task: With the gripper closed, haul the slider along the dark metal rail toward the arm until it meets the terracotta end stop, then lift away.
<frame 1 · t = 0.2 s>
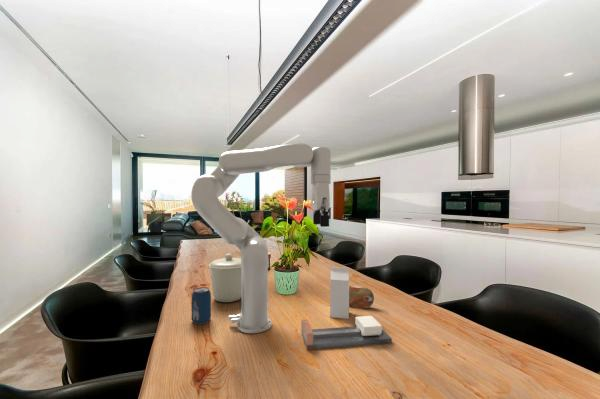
hand: (320, 225, 105), 37 cm above the table, tool pointing down, fingers open, 9 cm apart
rail: (345, 338, 93), on the table
canister: (228, 299, 130), on the table
soda can: (201, 321, 106), on the table
slider: (368, 326, 94), point 4 cm above the table, slide at 0.0 cm
tin: (356, 306, 122), on the table
milk carton: (339, 315, 112), on the table
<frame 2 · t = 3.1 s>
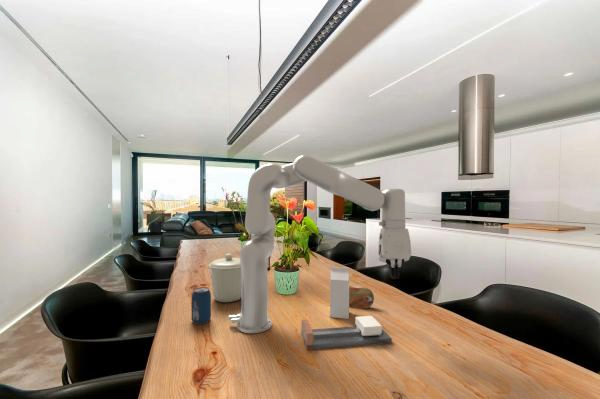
hand: (394, 278, 95), 20 cm above the table, tool pointing down, fingers closed
nothing on the table moved.
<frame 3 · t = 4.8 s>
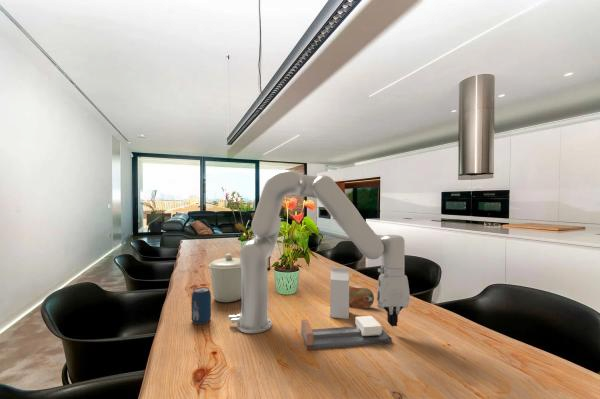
hand: (392, 324, 95), 4 cm above the table, tool pointing down, fingers closed
nothing on the table moved.
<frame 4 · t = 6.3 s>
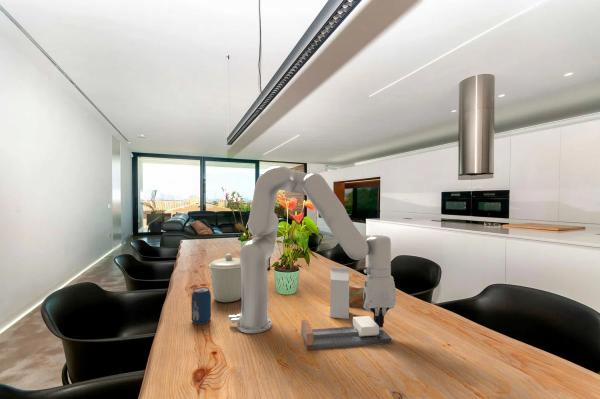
hand: (378, 325, 95), 4 cm above the table, tool pointing down, fingers closed
slider: (365, 326, 94), point 4 cm above the table, slide at 1.0 cm, touching gripper
everything else where it was.
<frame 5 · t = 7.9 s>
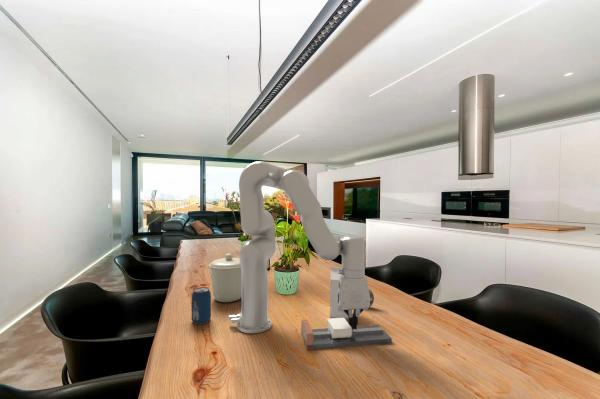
hand: (352, 327, 93), 4 cm above the table, tool pointing down, fingers closed
slider: (339, 328, 92), point 4 cm above the table, slide at 10.2 cm, touching gripper
everything else where it was.
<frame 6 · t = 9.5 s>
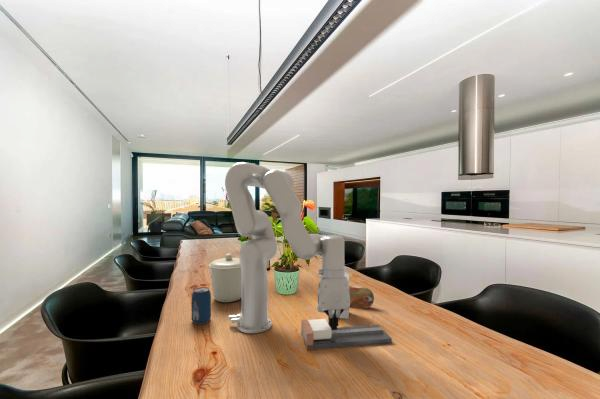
hand: (333, 328, 92), 4 cm above the table, tool pointing down, fingers closed
slider: (319, 329, 91), point 4 cm above the table, slide at 16.9 cm, touching gripper
everything else where it was.
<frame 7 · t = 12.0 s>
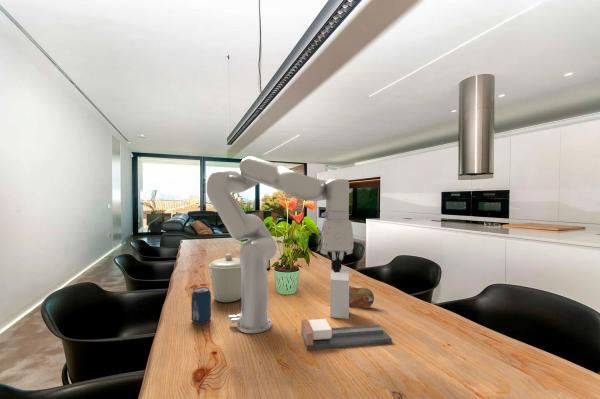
hand: (336, 271, 92), 23 cm above the table, tool pointing down, fingers closed
slider: (319, 329, 91), point 4 cm above the table, slide at 16.8 cm
everything else where it was.
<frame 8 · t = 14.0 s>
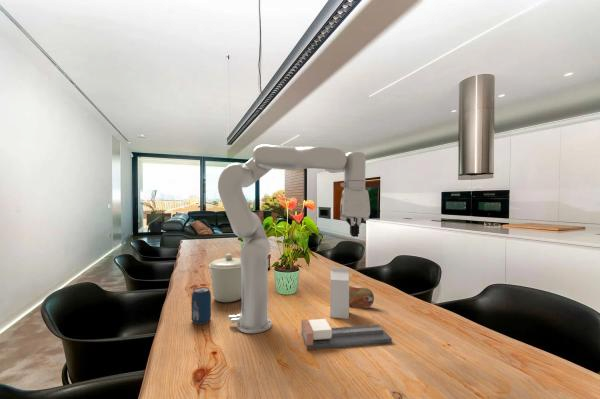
hand: (354, 236, 102), 33 cm above the table, tool pointing down, fingers closed
nothing on the table moved.
at the end: slider slide at 16.8 cm; milk carton moved 0.2 cm from its start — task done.
